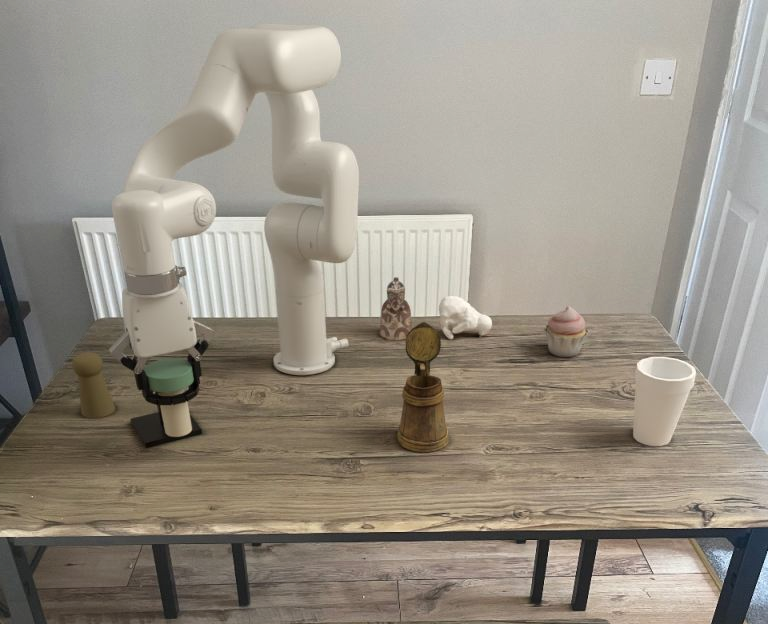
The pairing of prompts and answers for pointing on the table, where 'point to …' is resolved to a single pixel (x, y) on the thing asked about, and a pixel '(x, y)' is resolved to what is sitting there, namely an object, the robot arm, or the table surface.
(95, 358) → the tan pawn
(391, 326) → the figurine
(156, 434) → the holder
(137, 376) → the robot arm
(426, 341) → the wooden mug
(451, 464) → the table surface
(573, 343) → the cupcake
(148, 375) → the canister
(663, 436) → the foam cup
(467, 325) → the white animal statue
